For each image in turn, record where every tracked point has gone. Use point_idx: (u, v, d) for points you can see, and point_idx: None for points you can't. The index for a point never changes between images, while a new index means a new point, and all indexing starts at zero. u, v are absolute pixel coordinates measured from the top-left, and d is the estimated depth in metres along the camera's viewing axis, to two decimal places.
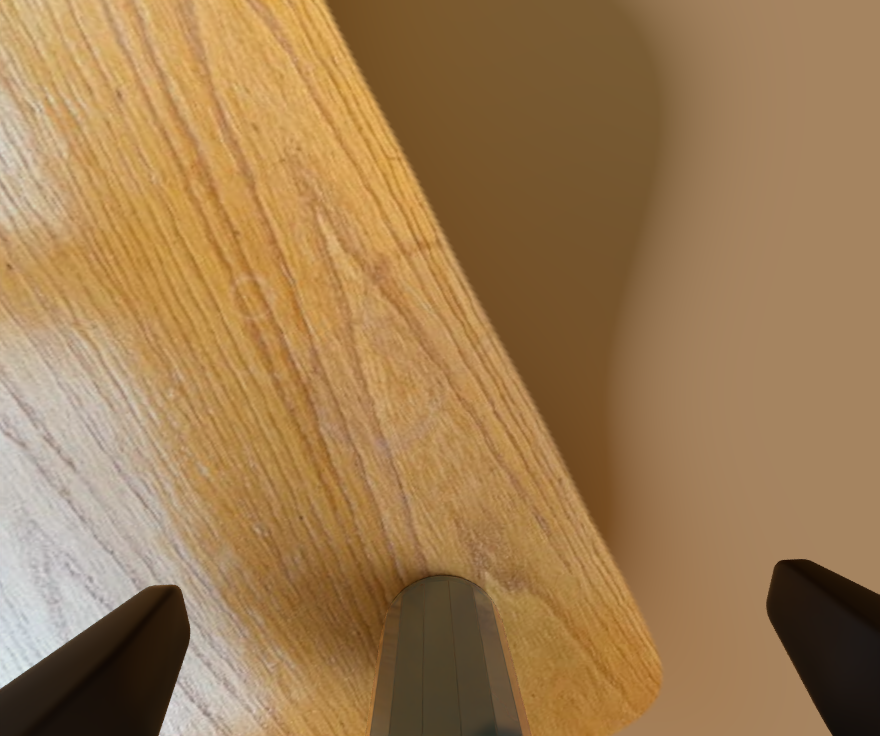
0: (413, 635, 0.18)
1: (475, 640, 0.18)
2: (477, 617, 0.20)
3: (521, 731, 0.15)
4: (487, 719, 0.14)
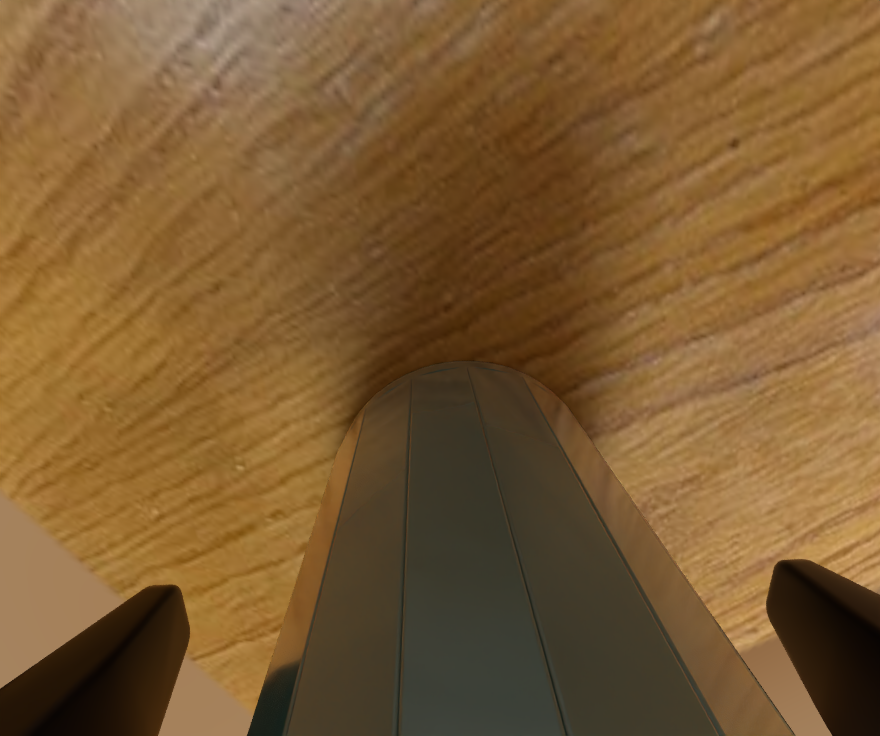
0: None
1: None
2: None
3: None
4: None
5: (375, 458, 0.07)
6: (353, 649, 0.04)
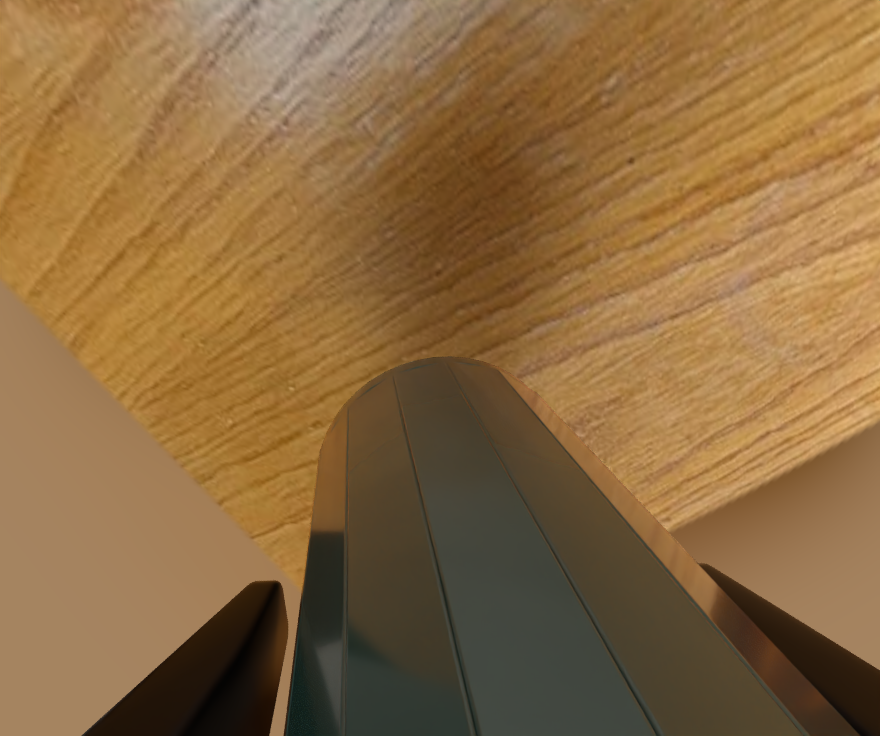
0: None
1: None
2: None
3: None
4: None
5: (373, 451, 0.07)
6: (399, 620, 0.04)
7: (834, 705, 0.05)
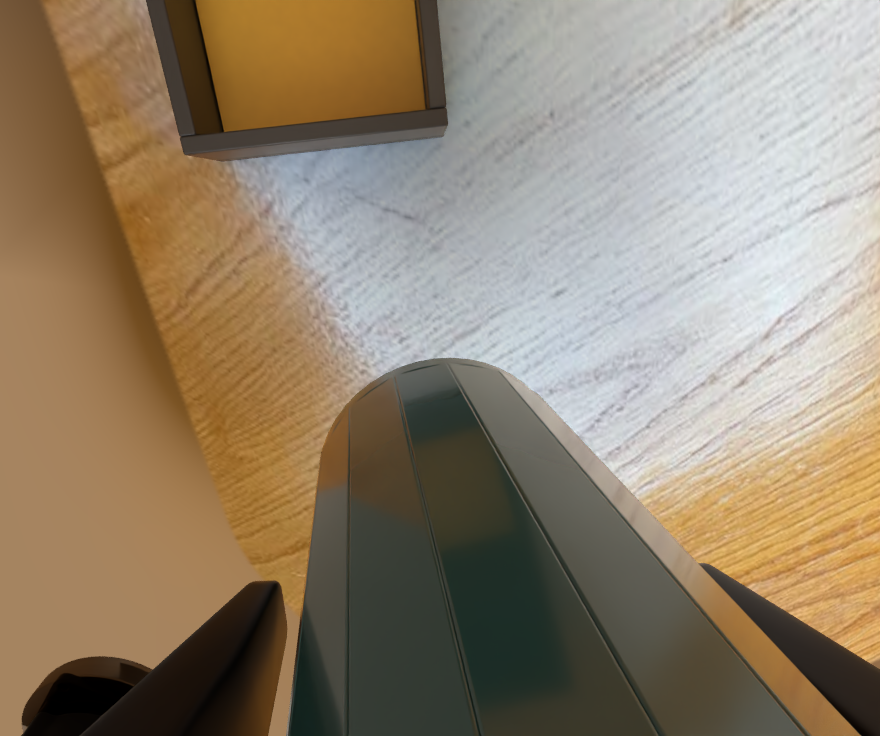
0: None
1: None
2: None
3: None
4: None
5: (374, 454, 0.07)
6: (402, 625, 0.04)
7: (836, 705, 0.05)
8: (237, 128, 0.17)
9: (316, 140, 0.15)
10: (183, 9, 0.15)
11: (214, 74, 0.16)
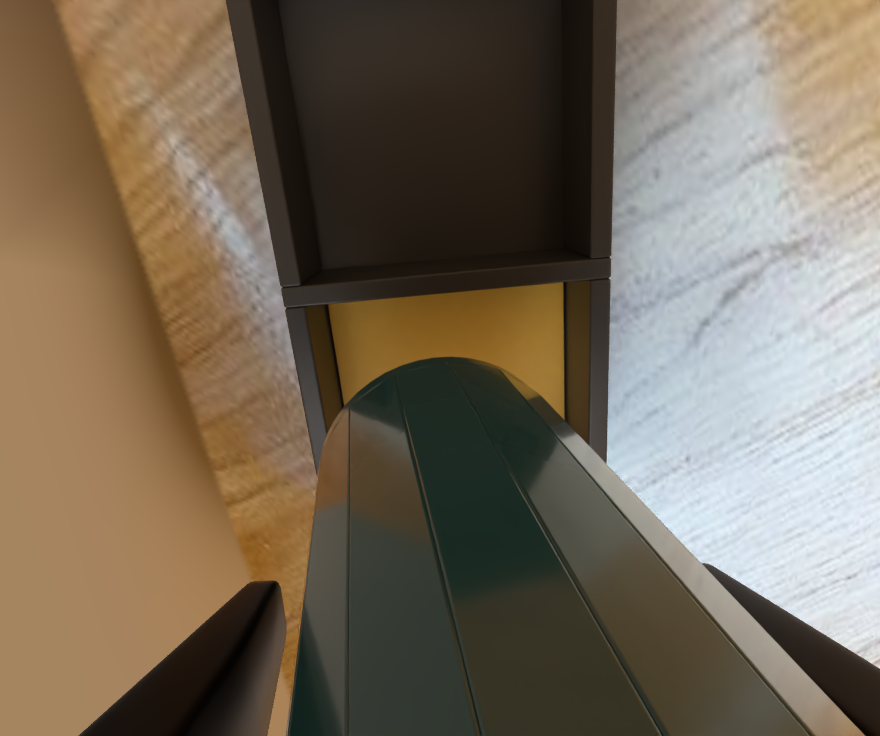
0: None
1: None
2: None
3: None
4: None
5: (375, 452, 0.07)
6: (402, 623, 0.04)
7: (837, 705, 0.05)
8: None
9: None
10: (335, 411, 0.14)
11: None
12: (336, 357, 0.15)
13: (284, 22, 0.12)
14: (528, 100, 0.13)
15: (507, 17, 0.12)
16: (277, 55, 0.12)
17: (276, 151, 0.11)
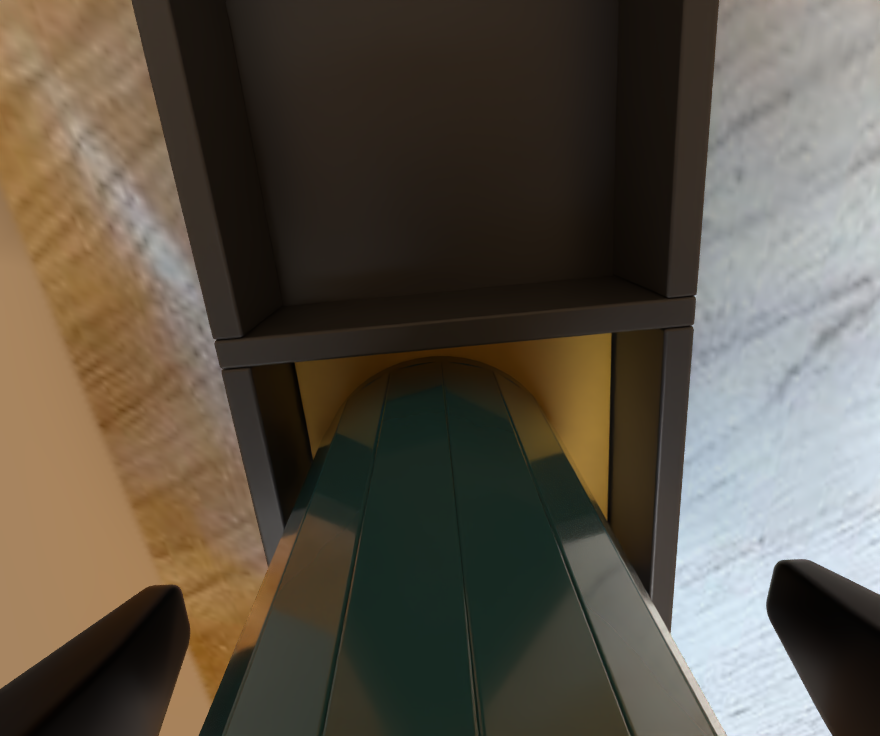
0: (604, 518, 0.07)
1: None
2: None
3: None
4: None
5: (349, 442, 0.08)
6: (313, 593, 0.05)
7: None
8: None
9: None
10: None
11: None
12: (306, 421, 0.11)
13: None
14: (569, 71, 0.09)
15: None
16: (207, 0, 0.08)
17: (197, 139, 0.07)
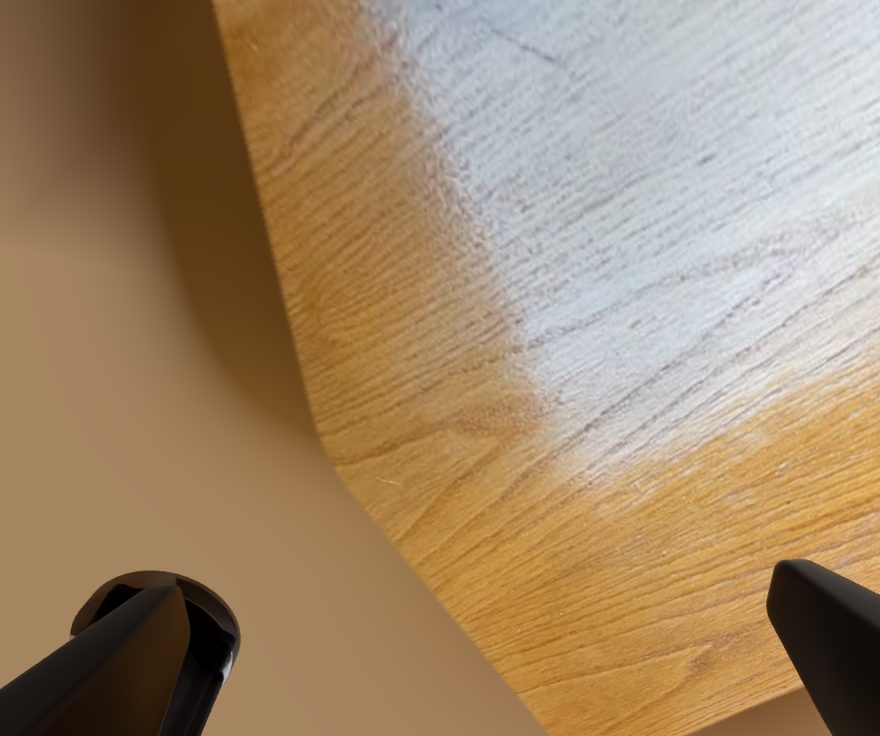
0: None
1: None
2: None
3: None
4: None
5: None
6: None
7: None
8: None
9: None
10: None
11: None
12: None
13: None
14: None
15: None
16: None
17: None
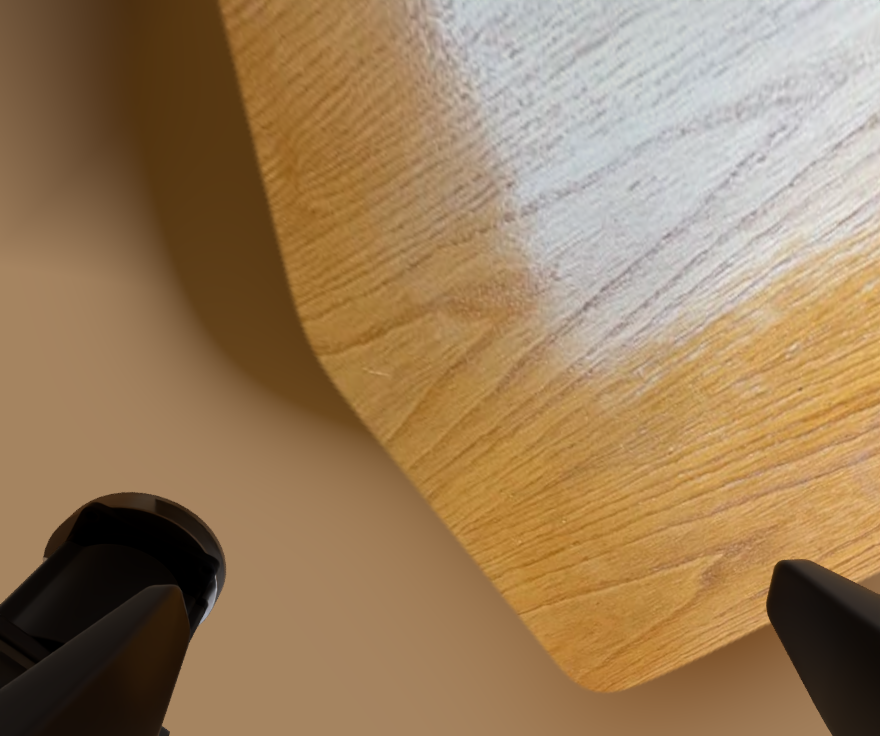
0: None
1: None
2: None
3: None
4: None
5: None
6: None
7: None
8: None
9: None
10: None
11: None
12: None
13: None
14: None
15: None
16: None
17: None
